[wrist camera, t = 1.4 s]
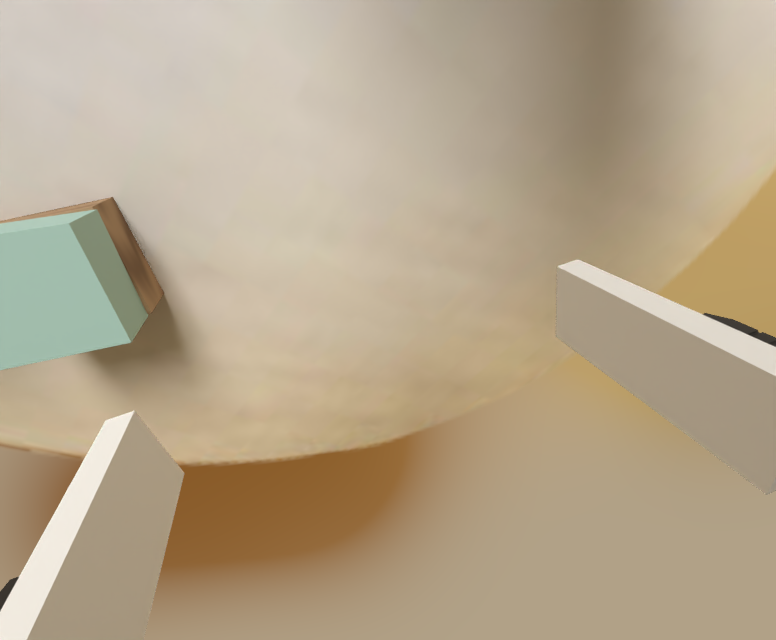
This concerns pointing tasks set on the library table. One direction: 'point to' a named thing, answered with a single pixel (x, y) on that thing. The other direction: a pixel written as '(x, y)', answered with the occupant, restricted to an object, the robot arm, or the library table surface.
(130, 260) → the tower base block
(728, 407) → the robot arm
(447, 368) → the library table surface
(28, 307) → the tower top block
